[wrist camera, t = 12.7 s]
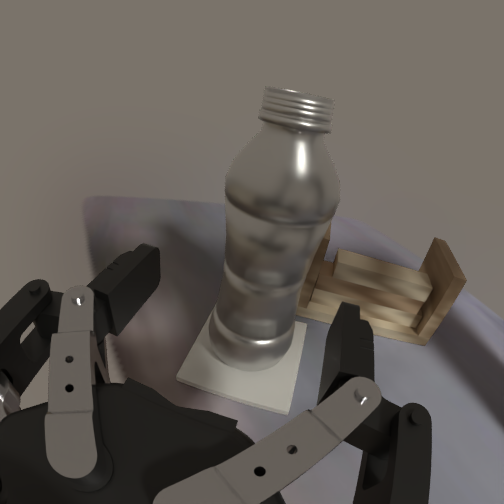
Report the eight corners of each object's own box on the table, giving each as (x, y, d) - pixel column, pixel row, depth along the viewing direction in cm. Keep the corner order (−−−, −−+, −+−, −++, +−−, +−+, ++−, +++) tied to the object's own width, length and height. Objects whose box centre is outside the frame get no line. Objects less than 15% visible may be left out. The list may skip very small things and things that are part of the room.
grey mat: (305, 328, 29) (307, 324, 28) (286, 415, 20) (288, 412, 20) (218, 303, 30) (218, 298, 30) (176, 380, 22) (175, 376, 21)
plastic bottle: (217, 316, 28) (246, 82, 17) (288, 331, 27) (352, 104, 16) (197, 370, 22) (220, 81, 11) (282, 389, 22) (376, 113, 11)
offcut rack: (414, 301, 35) (445, 241, 30) (424, 345, 28) (466, 280, 23) (299, 270, 37) (317, 201, 32) (288, 312, 30) (311, 234, 25)
